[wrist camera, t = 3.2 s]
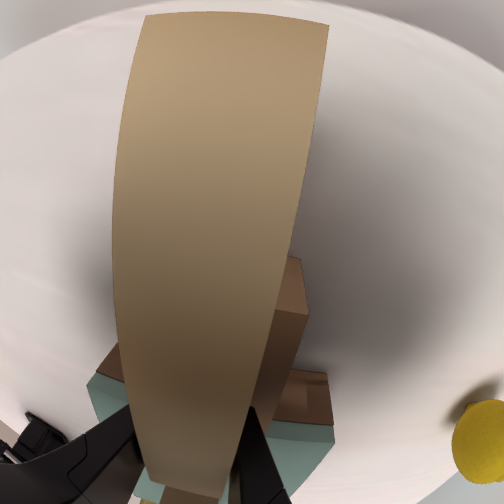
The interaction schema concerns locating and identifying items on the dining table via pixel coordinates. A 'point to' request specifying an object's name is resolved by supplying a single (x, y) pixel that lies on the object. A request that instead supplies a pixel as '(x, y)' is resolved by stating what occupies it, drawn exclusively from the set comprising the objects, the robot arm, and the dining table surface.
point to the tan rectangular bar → (206, 224)
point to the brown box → (276, 363)
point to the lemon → (480, 442)
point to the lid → (174, 500)
